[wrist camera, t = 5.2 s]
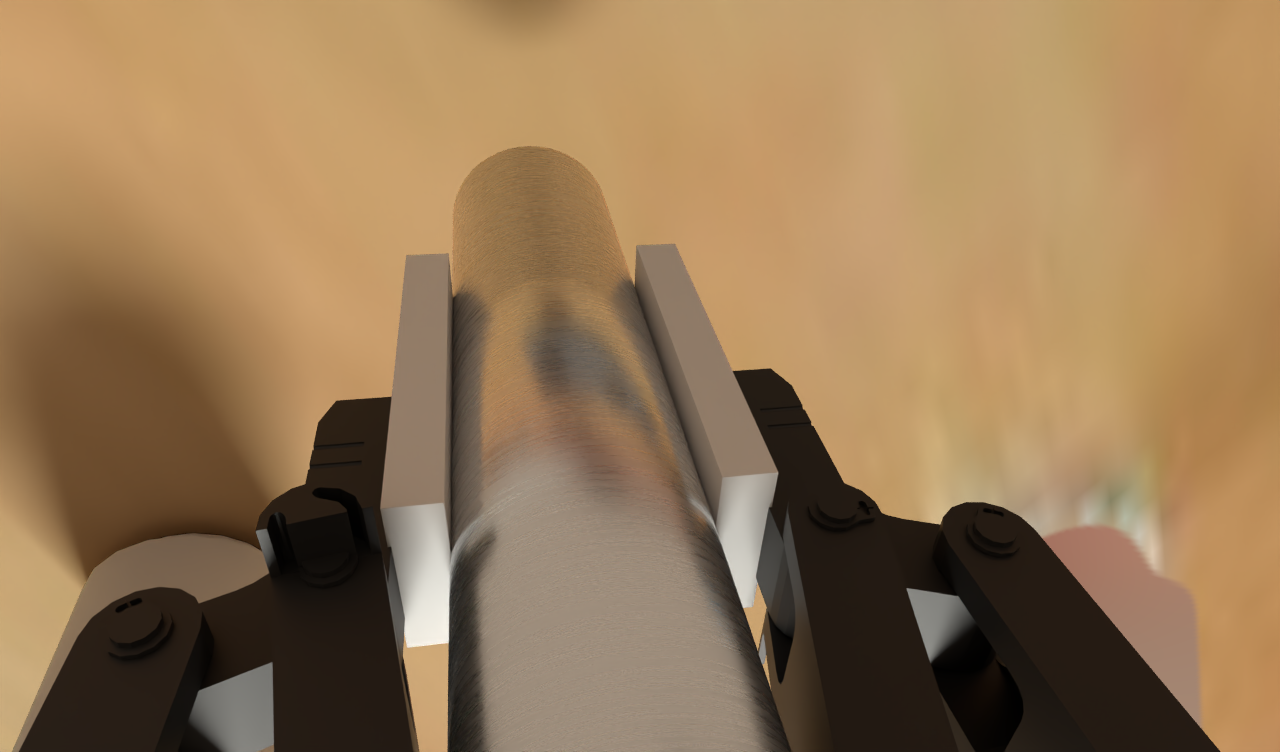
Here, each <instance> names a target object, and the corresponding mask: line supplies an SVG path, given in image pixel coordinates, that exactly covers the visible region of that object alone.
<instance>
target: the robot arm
mask: <svg viewBox="0 0 1280 752" xmlns="http://www.w3.org/2000/svg"><path fill="white" fill-rule="evenodd" d="M635 290H636V293H637V296H638V299H639V302H640V305H641V308H642V311H643V314H644V317H645V320H646V323H647V326H648V329H649V332H650V335H651V337H652V340H653V343H654V346H655V349H656V352H657V355H658V358H659V361H660V364H661V367H662V370H663V373H664V376H665V379H666V382H667V385H668V388H669V391H670V394H671V397H672V400H673V402H674V405H675V408H676V411H677V414H678V417H679V420H680V423H681V426H682V429H683V432H684V435H685V438H686V441H687V444H688V447H689V450H690V453H691V456H692V459H693V462H694V464H695V467H696V470H697V473H698V476H699V479H700V482H701V485H702V488H703V491H704V494H705V497H706V500H707V503H708V506H709V509H710V512H711V515H712V518H713V521H714V524H715V527H716V529H717V532H718V535H719V538H720V541H721V544H722V547H723V550H724V553H725V556H726V559H727V562H728V565H729V568H730V571H731V574H732V577H733V580H734V583H735V586H736V589H737V592H738V594H739V597H740V600H741V603H742V606H743V608H746V607H753V604H754V599H755V593H756V588H757V583H758V584H759V587H760V590H761V593H762V595H763V598H764V601H765V604H766V606H767V609H766V614H765V619H764V624H763V629H762V634H761V639H760V644H759V648H758V654H759V657H760V659H761V662H762V664H764V662H765V657H766V655H767V663H768V670H769V677H770V684H771V692H772V695H773V698H774V701H775V704H776V707H777V710H778V713H779V716H780V719H781V722H782V724H783V727H784V730H785V733H786V736H787V739H788V742H789V745H790V748H791V751H792V752H1220V751H1219V749H1218V748H1217V747H1216V746H1215V745H1214V743H1213V742H1212V741H1211V740H1210V739H1209V737H1208V736H1207V735H1206V734H1205V733H1204V731H1203V730H1202V729H1201V728H1200V727H1199V725H1198V724H1197V723H1196V722H1195V721H1194V720H1193V718H1192V717H1191V716H1190V715H1189V713H1188V712H1187V711H1186V710H1185V709H1184V708H1183V706H1182V705H1181V704H1180V703H1179V702H1178V700H1177V699H1176V698H1175V697H1174V696H1173V694H1172V693H1171V692H1170V691H1169V690H1168V688H1167V687H1166V686H1165V685H1164V684H1163V682H1162V681H1161V680H1160V679H1159V678H1158V676H1157V675H1156V674H1155V673H1154V672H1153V670H1152V669H1151V668H1150V667H1149V666H1148V664H1147V663H1146V662H1145V661H1144V660H1143V658H1142V657H1141V656H1140V655H1139V654H1138V652H1137V651H1136V650H1135V649H1134V648H1133V647H1132V645H1131V644H1130V643H1129V642H1128V641H1127V639H1126V638H1125V637H1124V636H1123V635H1122V633H1121V632H1120V631H1119V630H1118V629H1117V627H1116V626H1115V625H1114V624H1113V623H1112V621H1111V620H1110V619H1109V618H1108V617H1107V615H1106V614H1105V613H1104V612H1103V611H1102V609H1101V608H1100V607H1099V606H1098V605H1097V603H1096V602H1095V601H1094V600H1093V599H1092V598H1091V596H1090V595H1089V594H1088V593H1087V592H1086V591H1085V589H1084V588H1083V587H1082V585H1081V584H1080V583H1079V582H1078V581H1077V579H1076V578H1075V577H1074V576H1073V575H1072V574H1071V573H1070V571H1069V570H1068V569H1067V568H1066V566H1065V565H1064V564H1063V563H1062V562H1061V560H1060V559H1059V558H1058V557H1057V556H1056V554H1055V553H1054V552H1053V551H1052V550H1051V548H1050V547H1049V546H1048V545H1047V544H1046V542H1045V541H1044V540H1043V539H1042V538H1041V536H1040V535H1039V534H1038V533H1037V532H1036V530H1035V529H1034V528H1032V527H1031V526H1030V525H1029V524H1028V523H1027V522H1026V521H1025V520H1024V519H1022V518H1021V517H1020V516H1018V515H1016V514H1014V513H1012V512H1010V511H1008V510H1007V509H1005V508H1003V507H999V506H995V505H991V504H988V503H984V502H966V503H963V504H960V505H957V506H954V507H952V508H951V509H950V510H949V511H948V512H947V513H946V515H945V516H944V517H943V520H942V522H941V525H939V524H932V523H926V522H919V521H913V520H906V519H901V518H896V517H892V516H888V515H885V514H883V513H881V511H880V509H879V508H878V506H877V504H876V503H875V501H873V500H872V499H871V498H870V497H869V496H867V495H866V494H865V493H864V492H863V491H861V490H859V489H856V488H854V487H852V486H850V485H847V484H845V483H844V482H843V480H842V478H841V476H840V475H839V473H838V471H837V469H836V467H835V465H834V463H833V462H832V460H831V458H830V456H829V454H828V452H827V450H826V448H825V447H824V445H823V443H822V441H821V439H820V437H819V435H818V434H817V432H816V430H815V428H814V426H811V421H810V419H809V417H808V415H807V413H806V411H805V410H803V408H802V404H801V402H800V400H799V398H798V396H797V395H796V393H795V391H794V389H793V387H792V385H790V384H789V383H788V382H787V381H785V380H784V379H783V378H782V377H780V376H779V375H778V374H777V373H776V372H774V371H773V370H772V369H757V370H742V371H732V369H731V367H730V365H729V362H728V360H727V358H726V356H725V353H724V351H723V349H722V347H721V345H720V342H719V340H718V338H717V336H716V334H715V331H714V329H713V327H712V325H711V323H710V320H709V318H708V316H707V314H706V311H705V309H704V307H703V305H702V303H701V300H700V298H699V296H698V294H697V292H696V289H695V287H694V285H693V283H692V281H691V278H690V276H689V274H688V272H687V270H686V267H685V265H684V263H683V261H682V258H681V256H680V254H679V252H678V250H677V247H676V245H675V244H661V245H637V246H636V267H635ZM452 367H453V293H452V283H451V274H450V264H449V254H426V255H406V264H405V273H404V283H403V293H402V302H401V312H400V322H399V331H398V341H397V351H396V360H395V370H394V380H393V389H392V397H383V398H369V399H354V400H340V401H336V402H335V403H334V404H333V405H332V407H331V408H330V409H329V410H328V411H327V413H326V414H325V415H324V416H323V417H322V419H321V420H320V421H319V422H318V427H317V431H316V436H315V441H314V450H312V455H311V460H310V470H308V474H307V479H306V484H305V485H302V486H298V487H295V488H292V489H290V490H288V491H287V492H285V493H284V494H282V495H281V496H279V497H277V498H276V499H274V500H273V501H272V502H271V503H270V504H269V505H268V506H267V508H266V509H265V510H264V511H263V512H262V513H261V515H260V517H259V521H258V524H257V528H256V534H257V537H258V540H259V543H260V546H261V549H262V552H263V555H264V558H265V562H266V565H267V568H268V571H269V573H268V574H267V575H265V576H264V577H262V578H260V579H259V580H257V581H256V582H254V583H252V584H250V585H247V586H245V587H243V588H241V589H238V590H236V591H233V592H230V593H227V594H224V595H221V596H219V597H216V598H213V599H210V600H207V601H204V602H201V603H198V601H197V599H196V597H194V596H193V595H191V594H189V593H187V592H185V591H184V590H182V589H179V588H168V587H155V588H150V589H145V590H140V591H135V592H133V593H131V594H129V595H126V596H124V597H122V598H120V599H118V600H115V601H113V602H111V603H110V604H109V605H108V606H106V607H105V608H104V609H102V610H101V611H100V612H98V613H97V614H96V615H94V616H93V617H92V618H91V619H90V620H89V622H88V623H87V624H86V626H85V627H84V628H83V630H82V631H81V632H80V634H79V635H78V636H77V638H76V640H75V642H74V644H73V646H72V648H71V650H70V652H69V654H68V656H67V658H66V660H65V662H64V664H63V666H62V668H61V670H60V672H59V674H58V676H57V678H56V680H55V682H54V683H53V685H52V687H51V689H50V691H49V693H48V695H47V697H46V699H45V701H44V703H43V705H42V707H41V709H40V711H39V713H38V715H37V717H36V719H35V721H34V723H33V725H32V727H31V729H30V730H29V732H28V734H27V736H26V738H25V740H24V742H23V744H22V746H21V748H20V750H19V752H258V751H260V750H262V749H265V748H267V747H269V746H272V745H274V752H419V747H418V741H417V735H416V728H415V722H414V716H413V710H412V704H411V698H410V692H409V686H408V680H407V674H406V669H405V664H404V659H403V643H404V633H405V638H406V643H407V648H408V647H417V646H425V645H434V644H442V643H449V565H450V558H451V491H452Z"/></svg>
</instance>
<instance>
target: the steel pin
mask: <svg viewBox="0 0 1280 752" xmlns="http://www.w3.org/2000/svg"><path fill="white" fill-rule="evenodd" d="M452 293H453V367H452V491H451V558H450V565H449V664H448V752H792V751H791V748H790V745H789V742H788V739H787V736H786V733H785V730H784V727H783V724H782V722H781V719H780V716H779V713H778V710H777V707H776V704H775V701H774V698H773V695H772V692H771V689H770V686H769V683H768V680H767V677H766V674H765V671H764V668H763V665H762V662H761V659H760V657H759V654H758V651H757V648H756V645H755V642H754V639H753V636H752V633H751V630H750V627H749V624H748V621H747V618H746V615H745V612H744V609H743V606H742V603H741V600H740V597H739V594H738V592H737V589H736V586H735V583H734V580H733V577H732V574H731V571H730V568H729V565H728V562H727V559H726V556H725V553H724V550H723V547H722V544H721V541H720V538H719V535H718V532H717V529H716V527H715V524H714V521H713V518H712V515H711V512H710V509H709V506H708V503H707V500H706V497H705V494H704V491H703V488H702V485H701V482H700V479H699V476H698V473H697V470H696V467H695V464H694V462H693V459H692V456H691V453H690V450H689V447H688V444H687V441H686V438H685V435H684V432H683V429H682V426H681V423H680V420H679V417H678V414H677V411H676V408H675V405H674V402H673V400H672V397H671V394H670V391H669V388H668V385H667V382H666V379H665V376H664V373H663V370H662V367H661V364H660V361H659V358H658V355H657V352H656V349H655V346H654V343H653V340H652V337H651V335H650V332H649V329H648V326H647V323H646V320H645V317H644V314H643V311H642V308H641V305H640V302H639V299H638V296H637V293H636V290H635V287H634V284H633V281H632V278H631V275H630V272H629V270H628V267H627V264H626V261H625V258H624V255H623V252H622V249H621V246H620V243H619V240H618V237H617V234H616V231H615V228H614V225H613V222H612V219H611V216H610V213H609V210H608V207H607V205H606V202H605V199H604V196H603V193H602V190H601V188H600V186H599V184H598V182H597V181H596V180H595V178H594V177H593V175H592V174H591V173H590V172H589V171H588V170H587V169H586V168H585V167H584V166H583V165H582V164H581V163H579V162H578V161H577V160H575V159H573V158H572V157H570V156H568V155H566V154H564V153H562V152H560V151H556V150H553V149H550V148H544V147H534V146H526V147H517V148H512V149H507V150H505V151H502V152H499V153H497V154H495V155H493V156H491V157H489V158H487V159H486V160H484V161H483V162H481V163H480V164H479V165H478V166H477V167H475V168H474V169H473V170H472V171H471V173H470V174H469V175H468V176H467V177H466V179H465V180H464V182H463V183H462V185H461V187H460V189H459V191H458V194H457V196H456V200H455V203H454V210H453V268H452Z"/></svg>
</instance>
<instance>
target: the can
mask: <svg viewBox="0 0 1280 752" xmlns="http://www.w3.org/2000/svg"><path fill="white" fill-rule="evenodd" d="M268 573H269V571H268V568H267V565H266V562H265V558H264V555H263V552H262V551H261V550H259V549H257V548H256V547H254V546H252V545H250V544H249V543H246V542H242V541H239V540H236V539H232V538H229V537H226V536H222V535H210V534H198V533H191V534H182V535H174V536H166V537H163V538H160V539H151V540H147V541H144V542H141V543H138V544H135V545H133V546H130V547H127V548H124V549H122V550H119V551H116V552H115V553H114V554H112V555H111V556H110V557H108V558H107V559H106V560H104V561H103V562H102V563H100V564H99V565H98V566H96V567H95V568H94V569H93V571H92V573H91V574H90V576H89V578H88V580H87V582H86V583H85V585H84V587H83V589H82V591H81V593H80V596H79V598H78V600H77V603H76V605H75V607H74V609H73V612H72V614H71V616H70V619H69V621H68V623H67V626H66V628H65V630H64V633H63V635H62V637H61V640H60V642H59V644H58V647H57V649H56V651H55V653H54V656H53V658H52V660H51V663H50V665H49V667H48V670H47V672H46V674H45V677H44V679H43V681H42V684H41V686H40V688H39V690H38V693H37V695H36V697H35V700H34V702H33V704H32V707H31V709H30V711H29V714H28V716H27V718H26V721H25V723H24V725H23V727H22V730H21V732H20V734H19V737H18V739H17V741H16V744H15V746H14V748H13V751H12V752H19V750H20V748H21V746H22V744H23V742H24V740H25V738H26V736H27V734H28V732H29V730H30V729H31V727H32V725H33V723H34V721H35V719H36V717H37V715H38V713H39V711H40V709H41V707H42V705H43V703H44V701H45V699H46V697H47V695H48V693H49V691H50V689H51V687H52V685H53V683H54V682H55V680H56V678H57V676H58V674H59V672H60V670H61V668H62V666H63V664H64V662H65V660H66V658H67V656H68V654H69V652H70V650H71V648H72V646H73V644H74V642H75V640H76V638H77V636H78V635H79V634H80V632H81V631H82V630H83V628H84V627H85V626H86V624H87V623H88V622H89V620H90V619H91V618H92V617H93V616H94V615H96V614H97V613H98V612H100V611H101V610H102V609H104V608H105V607H106V606H108V605H109V604H110V603H111V602H113V601H115V600H118V599H120V598H122V597H124V596H126V595H129V594H131V593H133V592H135V591H140V590H145V589H150V588H155V587H168V588H179V589H182V590H184V591H185V592H187V593H189V594H191V595H193V596H194V597H196V599H197V601H198V603H201V602H204V601H207V600H210V599H213V598H216V597H219V596H221V595H224V594H227V593H230V592H233V591H236V590H238V589H241V588H243V587H245V586H247V585H250V584H252V583H254V582H256V581H257V580H259V579H260V578H262V577H264V576H265V575H267V574H268ZM258 752H274V745H272V746H269V747H267V748H265V749H262V750H260V751H258Z"/></svg>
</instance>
